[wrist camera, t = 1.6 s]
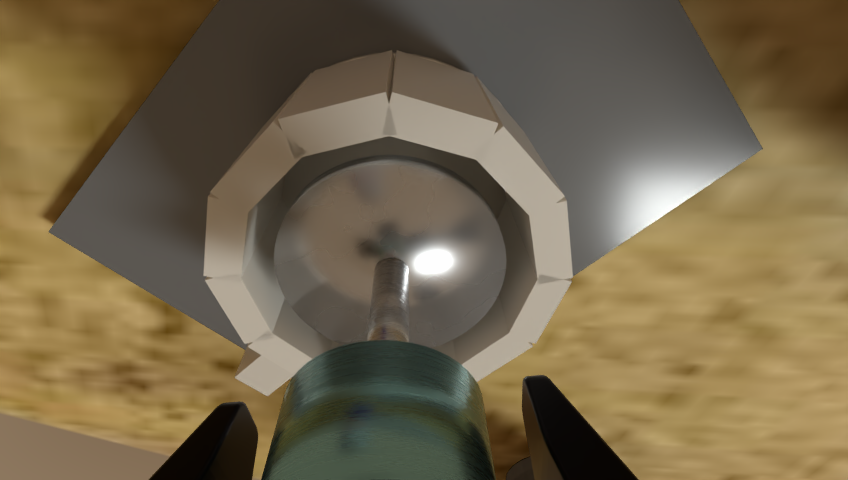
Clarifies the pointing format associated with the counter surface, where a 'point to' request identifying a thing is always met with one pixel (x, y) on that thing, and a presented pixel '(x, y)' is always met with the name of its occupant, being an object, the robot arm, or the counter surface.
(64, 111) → the counter surface
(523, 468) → the beverage cup
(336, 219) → the wine glass
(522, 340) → the thick white ring cup
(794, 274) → the counter surface
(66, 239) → the plate
